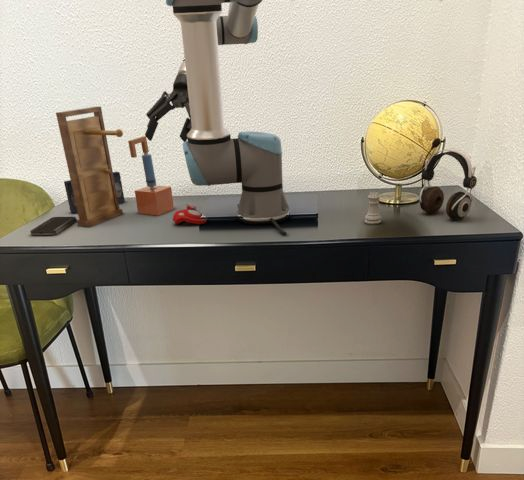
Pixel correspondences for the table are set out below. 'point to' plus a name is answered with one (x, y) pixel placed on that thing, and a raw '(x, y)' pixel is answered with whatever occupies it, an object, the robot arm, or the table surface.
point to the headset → (434, 195)
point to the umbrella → (144, 160)
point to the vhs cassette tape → (72, 200)
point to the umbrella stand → (154, 200)
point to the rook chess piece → (373, 209)
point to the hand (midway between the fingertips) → (164, 138)
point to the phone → (53, 226)
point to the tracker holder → (188, 215)
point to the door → (89, 165)
